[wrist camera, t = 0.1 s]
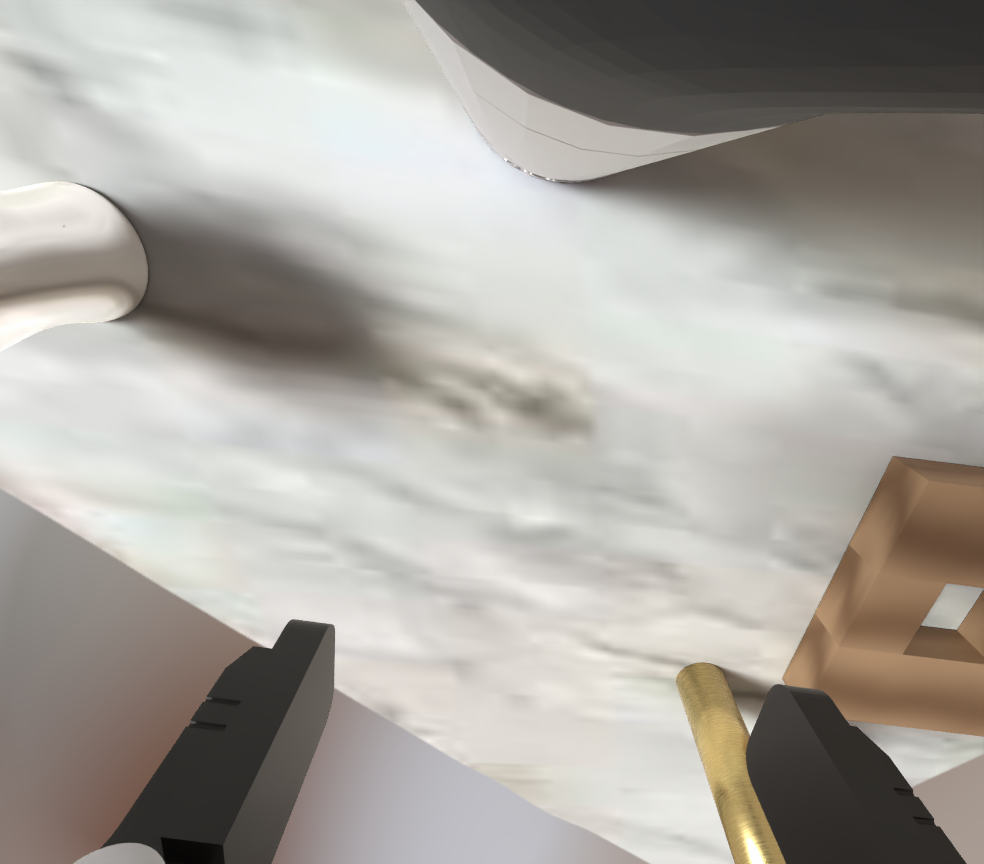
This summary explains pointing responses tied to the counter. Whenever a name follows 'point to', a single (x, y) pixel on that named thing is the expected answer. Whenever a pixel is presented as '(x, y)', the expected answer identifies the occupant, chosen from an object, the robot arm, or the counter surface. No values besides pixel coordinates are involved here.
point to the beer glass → (65, 260)
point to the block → (904, 606)
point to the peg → (727, 763)
